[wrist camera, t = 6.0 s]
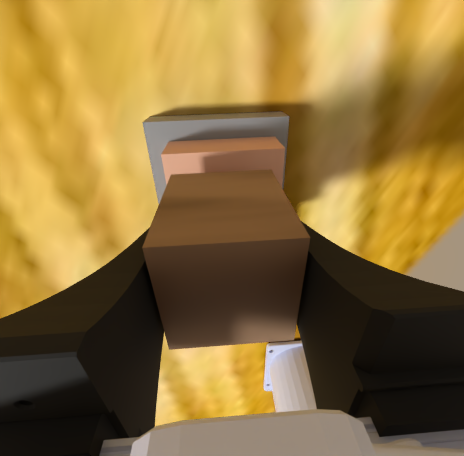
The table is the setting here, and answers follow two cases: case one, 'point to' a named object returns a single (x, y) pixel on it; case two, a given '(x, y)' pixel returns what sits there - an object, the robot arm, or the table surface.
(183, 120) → the gray slab
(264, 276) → the walnut block
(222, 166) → the terracotta cap
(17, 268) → the table surface
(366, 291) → the robot arm
